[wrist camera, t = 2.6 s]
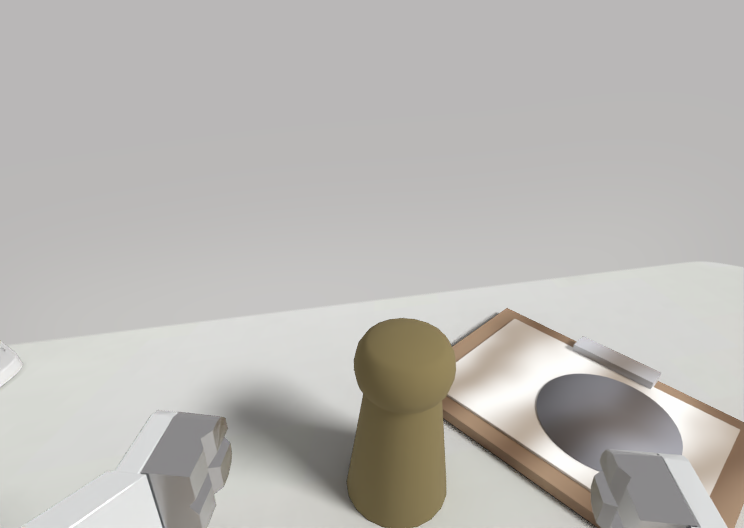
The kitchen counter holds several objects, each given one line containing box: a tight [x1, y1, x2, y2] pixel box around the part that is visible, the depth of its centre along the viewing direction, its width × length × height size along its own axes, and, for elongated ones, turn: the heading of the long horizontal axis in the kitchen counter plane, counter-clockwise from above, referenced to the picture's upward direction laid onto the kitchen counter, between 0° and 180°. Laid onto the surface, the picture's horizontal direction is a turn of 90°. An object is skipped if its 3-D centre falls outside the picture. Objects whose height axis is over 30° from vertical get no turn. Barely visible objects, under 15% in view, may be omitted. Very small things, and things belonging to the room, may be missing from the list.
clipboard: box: [442, 308, 744, 528], centre depth 34 cm, size 20×14×2 cm
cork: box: [347, 318, 456, 528], centre depth 27 cm, size 6×6×11 cm
